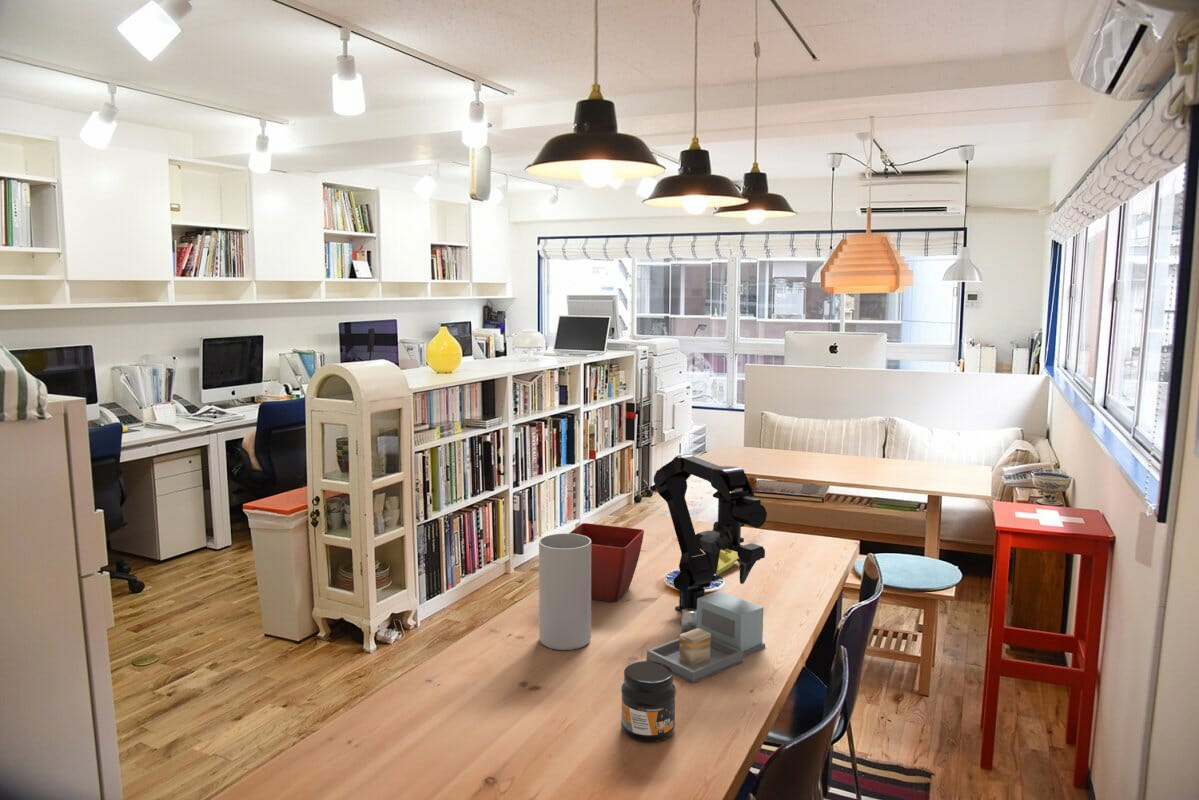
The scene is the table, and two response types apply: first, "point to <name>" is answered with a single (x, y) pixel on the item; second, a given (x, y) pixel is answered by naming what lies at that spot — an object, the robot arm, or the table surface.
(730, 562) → the plastic component
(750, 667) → the table surface
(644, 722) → the supplement container
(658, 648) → the parts tray
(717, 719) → the table surface
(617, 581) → the plant pot
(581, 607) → the cylinder vase
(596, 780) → the table surface
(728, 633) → the box
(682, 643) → the block
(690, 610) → the chrome-capped short cylinder
